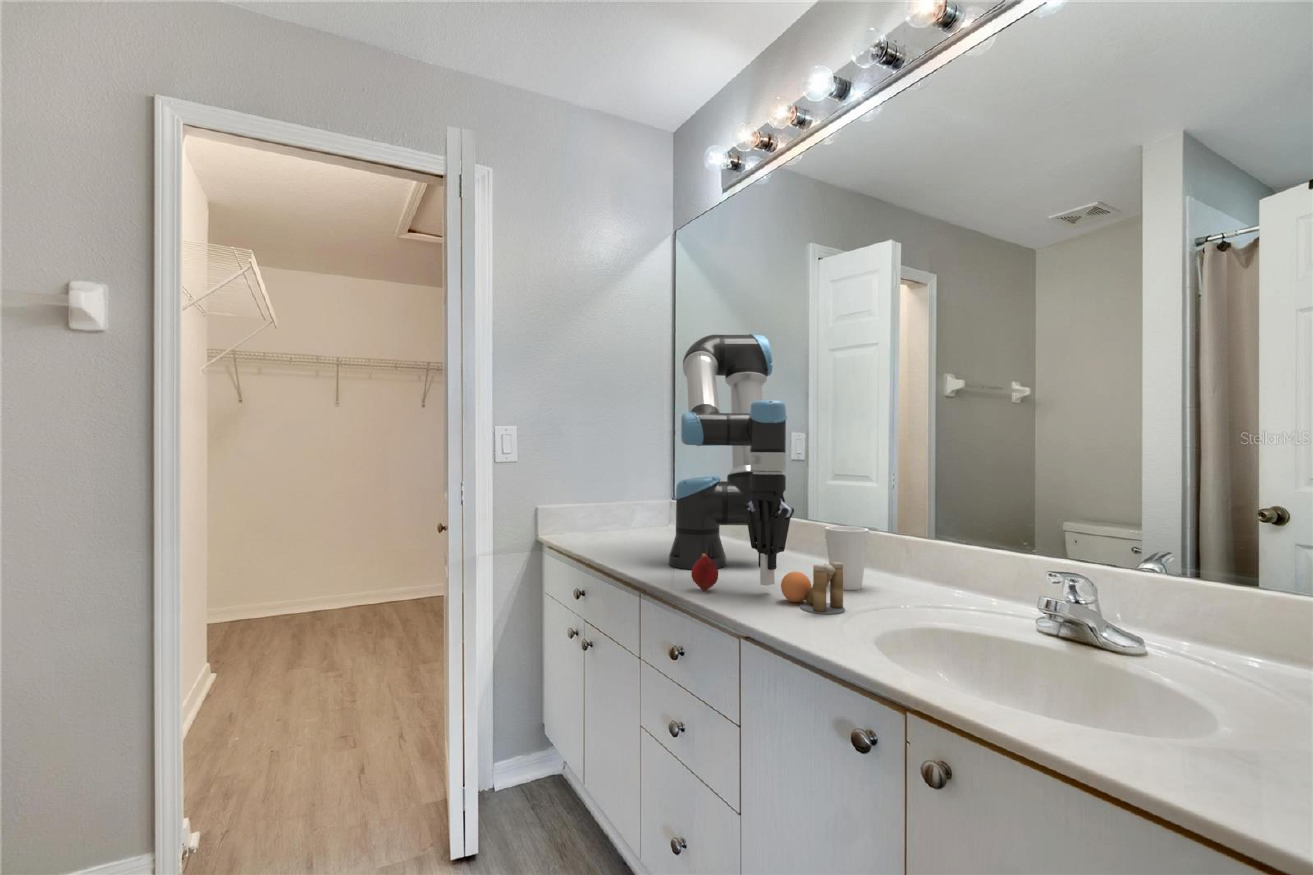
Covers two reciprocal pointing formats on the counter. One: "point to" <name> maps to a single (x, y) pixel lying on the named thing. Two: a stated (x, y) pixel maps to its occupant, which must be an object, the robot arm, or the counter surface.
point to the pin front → (829, 575)
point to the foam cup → (848, 552)
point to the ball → (795, 586)
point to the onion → (704, 573)
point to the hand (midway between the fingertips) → (767, 584)
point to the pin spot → (828, 611)
